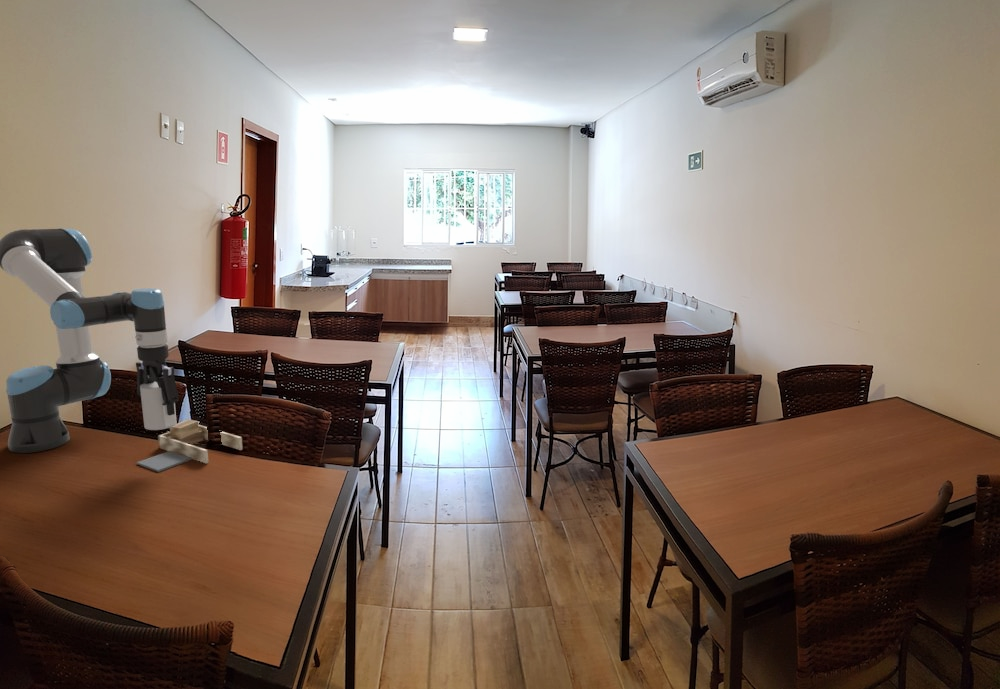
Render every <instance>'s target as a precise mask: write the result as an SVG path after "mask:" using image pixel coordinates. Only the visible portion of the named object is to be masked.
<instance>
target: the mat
mask: <svg viewBox="0 0 1000 689" xmlns="http://www.w3.org/2000/svg"><path fill="white" fill-rule="evenodd" d="M191 460H192V459H191V458H190V457H187V456H184V455H181V454H178V453H175V452H172V451H166V452H162V453H159V454H157V455H154V456H151V457H148V458H146V459H142V460H139V461H136V464H137V465H138V466H141V467H144V468H146V469H149V470H152V471H155V472H157V473H161V472H163V471H165V470H169V469H170V468H173V467H176V466H178V465H182V464H184V463H186V462H189V461H191Z"/></svg>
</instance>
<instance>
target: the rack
mask: <svg viewBox="0 0 1000 689" xmlns="http://www.w3.org/2000/svg"><path fill="white" fill-rule="evenodd" d="M198 427H199V430H201V431H202V433H203V440H205V441H209V440H208V430H207V427H208V426H206V425H201V424H199V423H198ZM220 435H221V442H222V444H221V445H223V446H225V447H229V448H232V449H236V450H239V451H242V450H243V437H242V436H239V435H235V434H232V433H229V432H225V431H222V432H220ZM170 436H171V435H170V431H168V432H165V433H162V434H159V435H157V441H158V448H159V449H162V450H164V451H166V452H168V451H172V452H175V453H178V454H181V455H184V456H187V457H190V458H191V460H194V461H197V462H199V461H200V463H202V462H203V464H209V454H208V453H209V451H208V449H205V448H203V447H199V446H196V445H195V444H187V443H184V442H181V441H178V440H175V439H172V438H169V437H170Z"/></svg>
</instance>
